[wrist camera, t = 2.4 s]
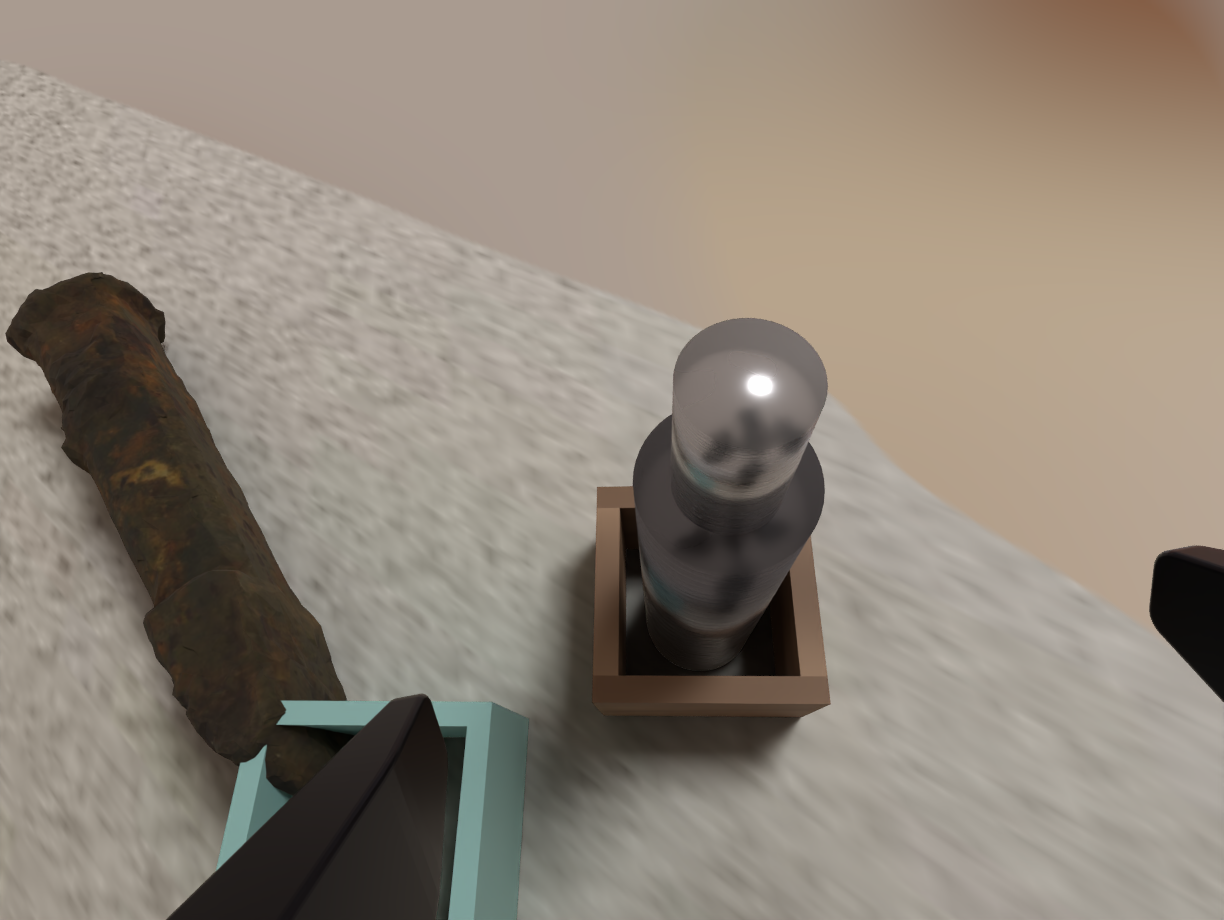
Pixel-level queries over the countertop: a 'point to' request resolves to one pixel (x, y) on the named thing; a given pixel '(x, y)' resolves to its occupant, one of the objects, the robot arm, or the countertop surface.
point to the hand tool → (182, 527)
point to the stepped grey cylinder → (728, 487)
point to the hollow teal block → (485, 800)
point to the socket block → (732, 696)
